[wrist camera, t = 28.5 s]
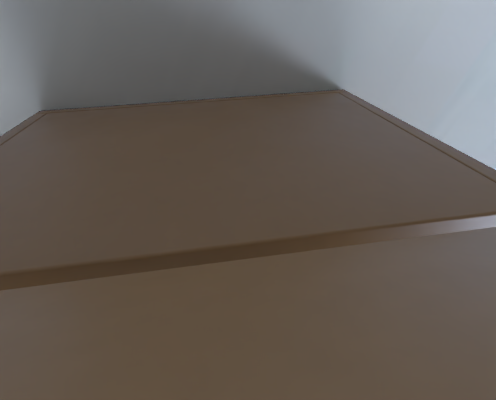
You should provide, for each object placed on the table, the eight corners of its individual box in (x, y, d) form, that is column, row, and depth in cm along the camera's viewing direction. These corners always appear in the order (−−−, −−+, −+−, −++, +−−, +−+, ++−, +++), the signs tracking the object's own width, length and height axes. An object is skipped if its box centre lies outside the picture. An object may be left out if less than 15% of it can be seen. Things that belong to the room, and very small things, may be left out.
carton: (39, 110, 13) (-346, 358, 4) (343, 89, 15) (609, 229, 5) (134, 349, 23) (92, 589, 13) (313, 322, 24) (389, 519, 15)
